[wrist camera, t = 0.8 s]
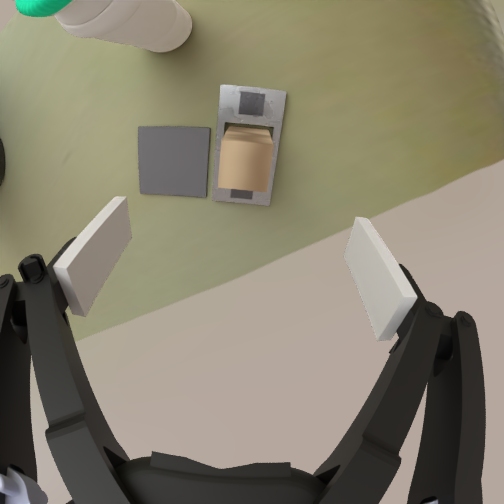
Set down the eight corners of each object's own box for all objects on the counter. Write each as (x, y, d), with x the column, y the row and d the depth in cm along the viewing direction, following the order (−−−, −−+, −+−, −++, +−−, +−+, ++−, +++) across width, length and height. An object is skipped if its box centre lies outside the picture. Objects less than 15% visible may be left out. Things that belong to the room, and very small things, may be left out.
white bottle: (131, 34, 24) (-14, 13, 4) (170, -2, 22) (60, -78, 1) (164, 62, 27) (25, 54, 7) (204, 26, 25) (118, -56, 4)
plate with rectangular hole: (213, 196, 38) (212, 200, 37) (222, 84, 29) (220, 84, 28) (268, 202, 39) (269, 206, 38) (285, 91, 30) (286, 91, 29)
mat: (141, 192, 38) (140, 193, 38) (139, 126, 32) (138, 127, 32) (206, 196, 38) (205, 197, 38) (210, 127, 33) (209, 128, 32)
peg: (226, 161, 36) (217, 187, 27) (229, 125, 33) (221, 140, 24) (263, 164, 36) (266, 192, 28) (268, 129, 33) (273, 145, 25)
